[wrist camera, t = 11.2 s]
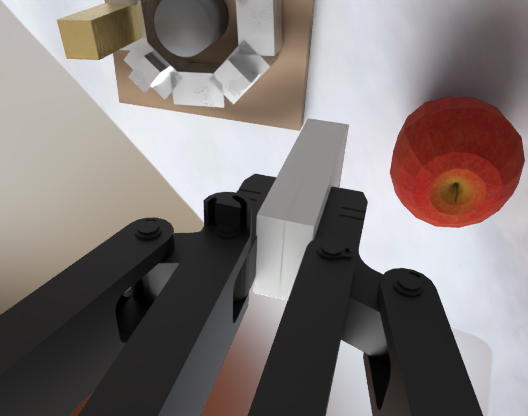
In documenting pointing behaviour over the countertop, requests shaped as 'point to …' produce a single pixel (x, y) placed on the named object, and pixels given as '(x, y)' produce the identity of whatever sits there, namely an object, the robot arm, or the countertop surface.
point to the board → (219, 49)
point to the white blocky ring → (168, 64)
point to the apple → (456, 162)
